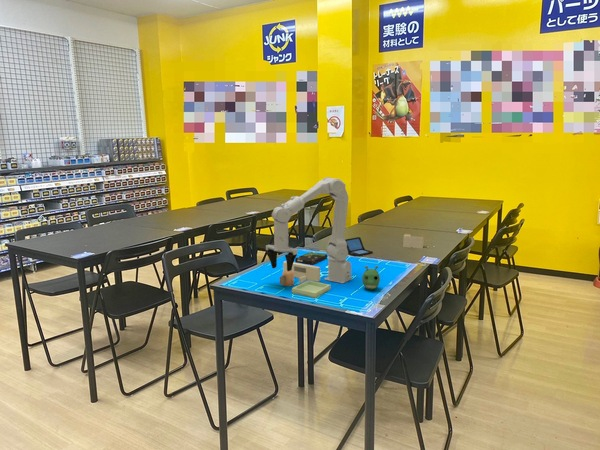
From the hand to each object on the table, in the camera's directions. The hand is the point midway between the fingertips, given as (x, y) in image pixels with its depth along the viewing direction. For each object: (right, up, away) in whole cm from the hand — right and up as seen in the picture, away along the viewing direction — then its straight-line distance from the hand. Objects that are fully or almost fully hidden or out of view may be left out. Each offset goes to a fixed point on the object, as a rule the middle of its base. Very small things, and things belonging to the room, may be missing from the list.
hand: (281, 269), depth 184 cm
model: (+71, +5, +68) cm, 98 cm away
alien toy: (+36, -8, -2) cm, 37 cm away
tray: (+12, -9, -4) cm, 15 cm away
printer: (+7, -5, +12) cm, 15 cm away
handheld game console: (+38, +3, +55) cm, 67 cm away
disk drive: (+13, 0, +41) cm, 43 cm away
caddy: (+2, -7, +4) cm, 8 cm away
